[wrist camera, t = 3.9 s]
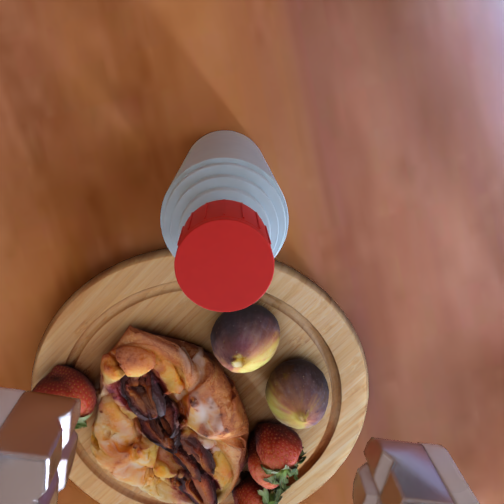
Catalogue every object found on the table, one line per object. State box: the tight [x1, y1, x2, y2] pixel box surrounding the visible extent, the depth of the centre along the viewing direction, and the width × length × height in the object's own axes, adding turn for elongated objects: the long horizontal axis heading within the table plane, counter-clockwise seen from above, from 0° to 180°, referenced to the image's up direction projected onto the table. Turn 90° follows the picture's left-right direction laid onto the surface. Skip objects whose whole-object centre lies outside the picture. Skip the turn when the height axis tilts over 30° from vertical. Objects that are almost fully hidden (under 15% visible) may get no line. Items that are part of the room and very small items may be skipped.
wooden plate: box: [31, 248, 369, 504], centre depth 42 cm, size 32×32×8 cm
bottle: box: [160, 130, 289, 258], centre depth 29 cm, size 7×7×21 cm
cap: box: [174, 199, 275, 312], centre depth 20 cm, size 4×4×3 cm
